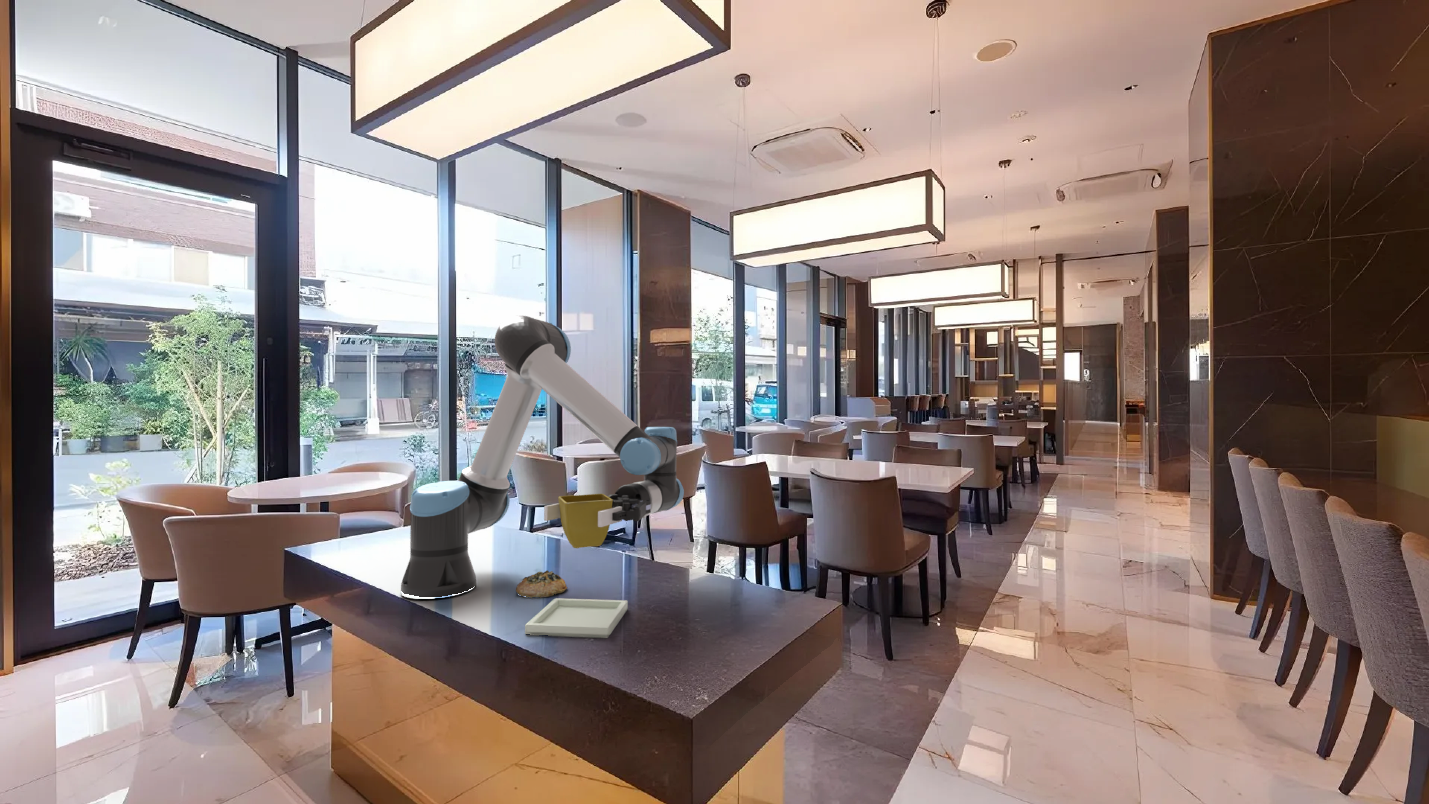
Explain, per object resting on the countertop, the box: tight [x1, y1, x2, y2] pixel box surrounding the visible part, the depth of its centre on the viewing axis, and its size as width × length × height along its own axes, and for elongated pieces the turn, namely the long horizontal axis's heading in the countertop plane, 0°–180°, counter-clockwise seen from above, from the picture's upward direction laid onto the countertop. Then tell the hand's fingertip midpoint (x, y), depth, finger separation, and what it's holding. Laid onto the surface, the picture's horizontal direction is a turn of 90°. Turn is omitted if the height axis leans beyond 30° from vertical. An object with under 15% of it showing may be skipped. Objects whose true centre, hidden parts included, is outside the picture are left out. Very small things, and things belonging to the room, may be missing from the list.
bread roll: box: [515, 570, 568, 598], centre depth 132 cm, size 11×11×5 cm
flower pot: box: [557, 493, 613, 549], centre depth 112 cm, size 9×9×9 cm
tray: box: [524, 597, 629, 639], centre depth 113 cm, size 15×15×2 cm
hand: (571, 516), depth 109 cm, fingers closed on flower pot, 12 cm apart
